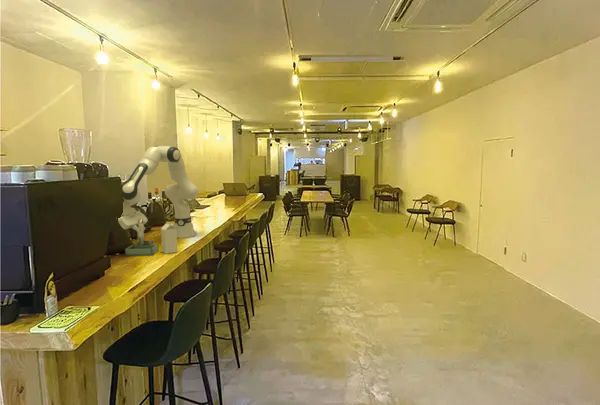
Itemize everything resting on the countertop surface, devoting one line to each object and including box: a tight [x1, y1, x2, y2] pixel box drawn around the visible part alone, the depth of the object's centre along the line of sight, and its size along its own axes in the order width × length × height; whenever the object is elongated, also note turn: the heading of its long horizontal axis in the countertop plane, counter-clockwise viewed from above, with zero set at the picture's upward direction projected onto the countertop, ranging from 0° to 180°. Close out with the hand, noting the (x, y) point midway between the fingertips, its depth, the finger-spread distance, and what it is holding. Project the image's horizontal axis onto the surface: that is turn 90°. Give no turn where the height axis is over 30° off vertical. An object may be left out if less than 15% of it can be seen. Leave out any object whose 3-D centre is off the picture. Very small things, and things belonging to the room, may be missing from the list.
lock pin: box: [137, 219, 145, 244], centre depth 226 cm, size 3×3×15 cm
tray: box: [124, 244, 159, 257], centre depth 227 cm, size 11×16×4 cm
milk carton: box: [160, 221, 178, 255], centre depth 230 cm, size 7×7×19 cm
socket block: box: [137, 240, 154, 245], centre depth 237 cm, size 7×7×5 cm
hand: (141, 230), depth 226 cm, fingers closed on lock pin, 3 cm apart
